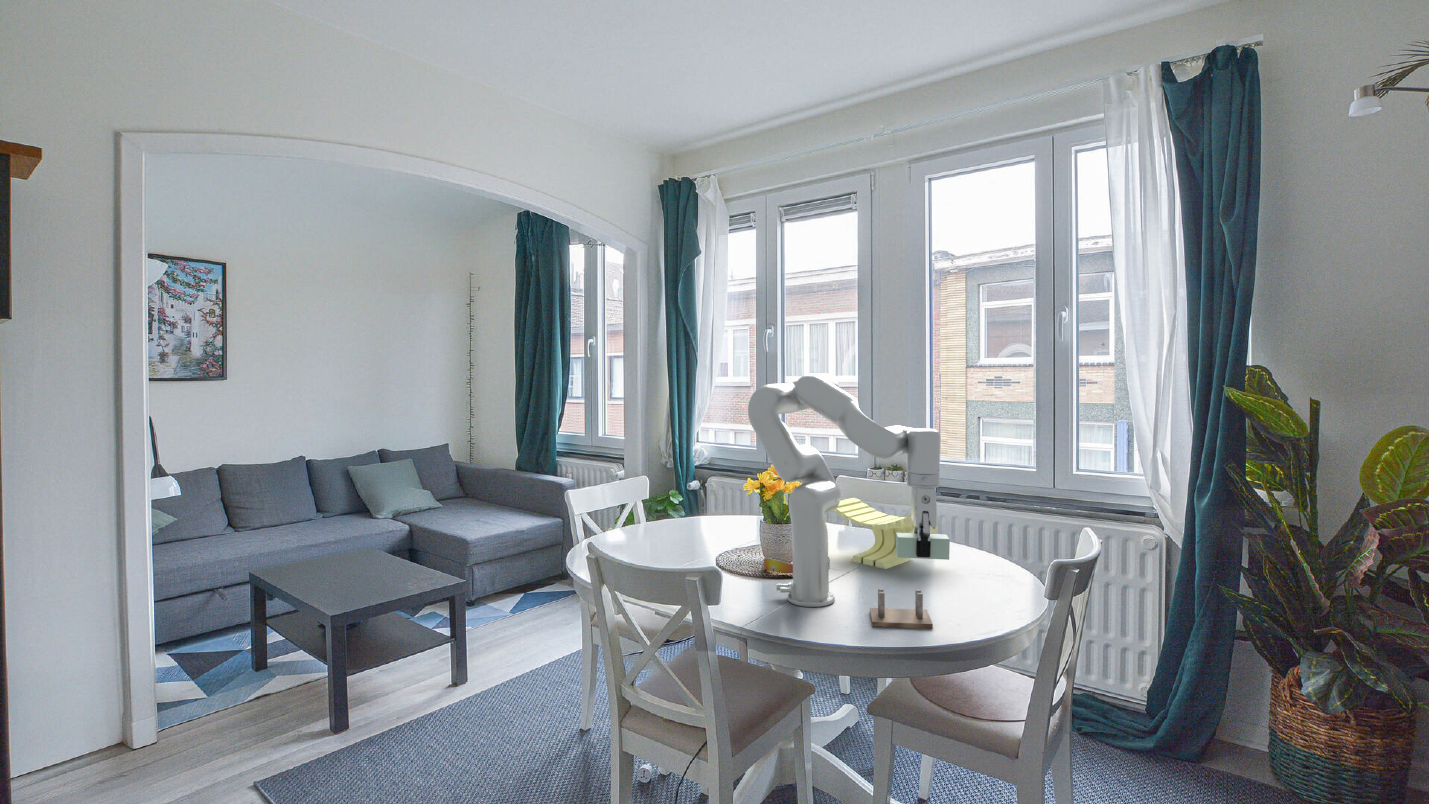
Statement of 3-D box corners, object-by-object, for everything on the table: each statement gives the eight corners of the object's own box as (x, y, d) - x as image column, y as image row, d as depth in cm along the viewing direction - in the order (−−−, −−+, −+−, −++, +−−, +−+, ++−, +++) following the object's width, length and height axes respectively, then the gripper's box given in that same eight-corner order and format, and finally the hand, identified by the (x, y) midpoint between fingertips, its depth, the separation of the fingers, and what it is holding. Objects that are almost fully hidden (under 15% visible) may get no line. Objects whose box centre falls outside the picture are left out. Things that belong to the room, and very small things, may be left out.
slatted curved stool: (937, 564, 223) (937, 507, 222) (909, 574, 212) (908, 515, 211) (859, 547, 245) (858, 496, 244) (830, 556, 234) (829, 502, 234)
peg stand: (872, 626, 170) (872, 597, 170) (869, 612, 180) (869, 584, 180) (932, 628, 168) (932, 599, 168) (926, 614, 178) (926, 586, 177)
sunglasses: (754, 571, 220) (756, 555, 220) (785, 567, 230) (786, 552, 230) (790, 580, 210) (791, 563, 210) (821, 576, 220) (822, 560, 220)
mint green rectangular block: (949, 559, 169) (949, 539, 169) (897, 557, 171) (898, 537, 171) (945, 554, 174) (946, 534, 174) (895, 552, 176) (896, 532, 175)
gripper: (945, 486, 163) (943, 564, 164) (933, 474, 179) (931, 545, 180) (911, 485, 164) (910, 563, 165) (902, 473, 180) (901, 544, 181)
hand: (921, 553), depth 173 cm, fingers closed on mint green rectangular block, 4 cm apart
